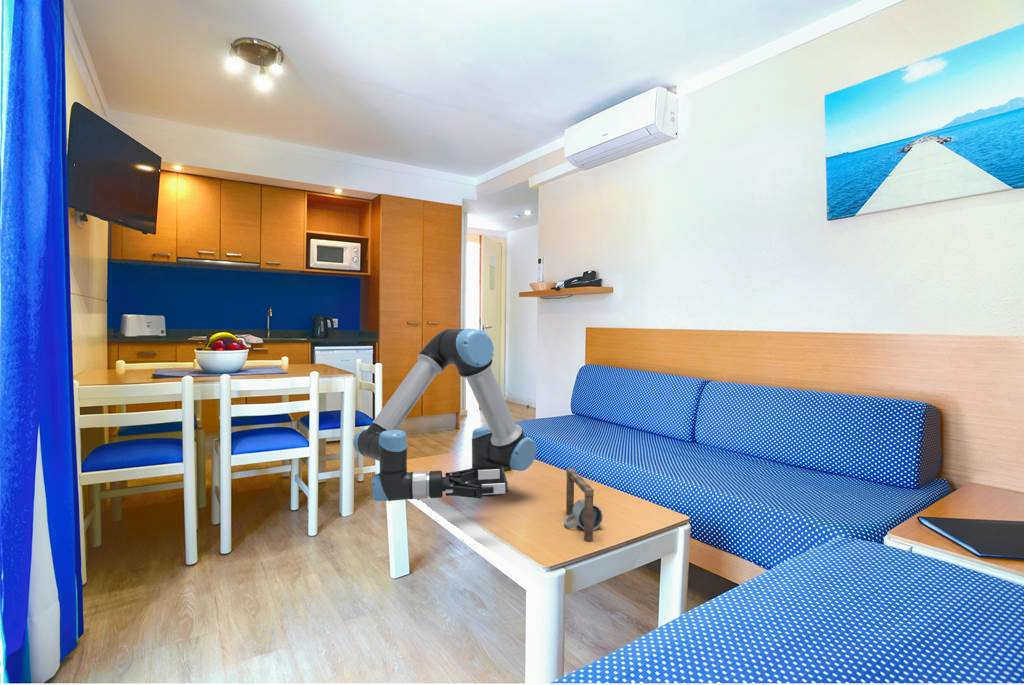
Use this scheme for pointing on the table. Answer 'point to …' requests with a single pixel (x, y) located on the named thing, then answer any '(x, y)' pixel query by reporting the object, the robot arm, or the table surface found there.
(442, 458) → the table surface
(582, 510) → the ceramic mug
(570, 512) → the walnut gate
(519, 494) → the table surface
